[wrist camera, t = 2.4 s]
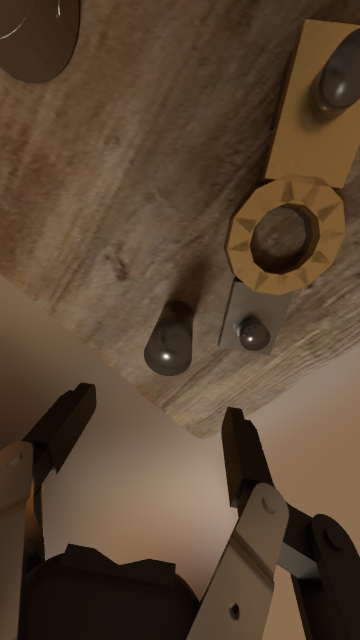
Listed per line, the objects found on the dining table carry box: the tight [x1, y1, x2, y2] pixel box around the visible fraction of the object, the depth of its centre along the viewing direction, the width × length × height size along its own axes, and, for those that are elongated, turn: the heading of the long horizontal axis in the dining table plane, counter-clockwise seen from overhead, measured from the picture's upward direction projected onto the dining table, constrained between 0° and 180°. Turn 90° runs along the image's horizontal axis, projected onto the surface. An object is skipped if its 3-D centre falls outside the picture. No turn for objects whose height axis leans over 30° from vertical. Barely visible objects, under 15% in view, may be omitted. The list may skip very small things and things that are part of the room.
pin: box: [144, 301, 193, 376], centre depth 20 cm, size 4×4×9 cm
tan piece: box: [218, 19, 360, 355], centre depth 18 cm, size 10×26×4 cm, turn 173°
